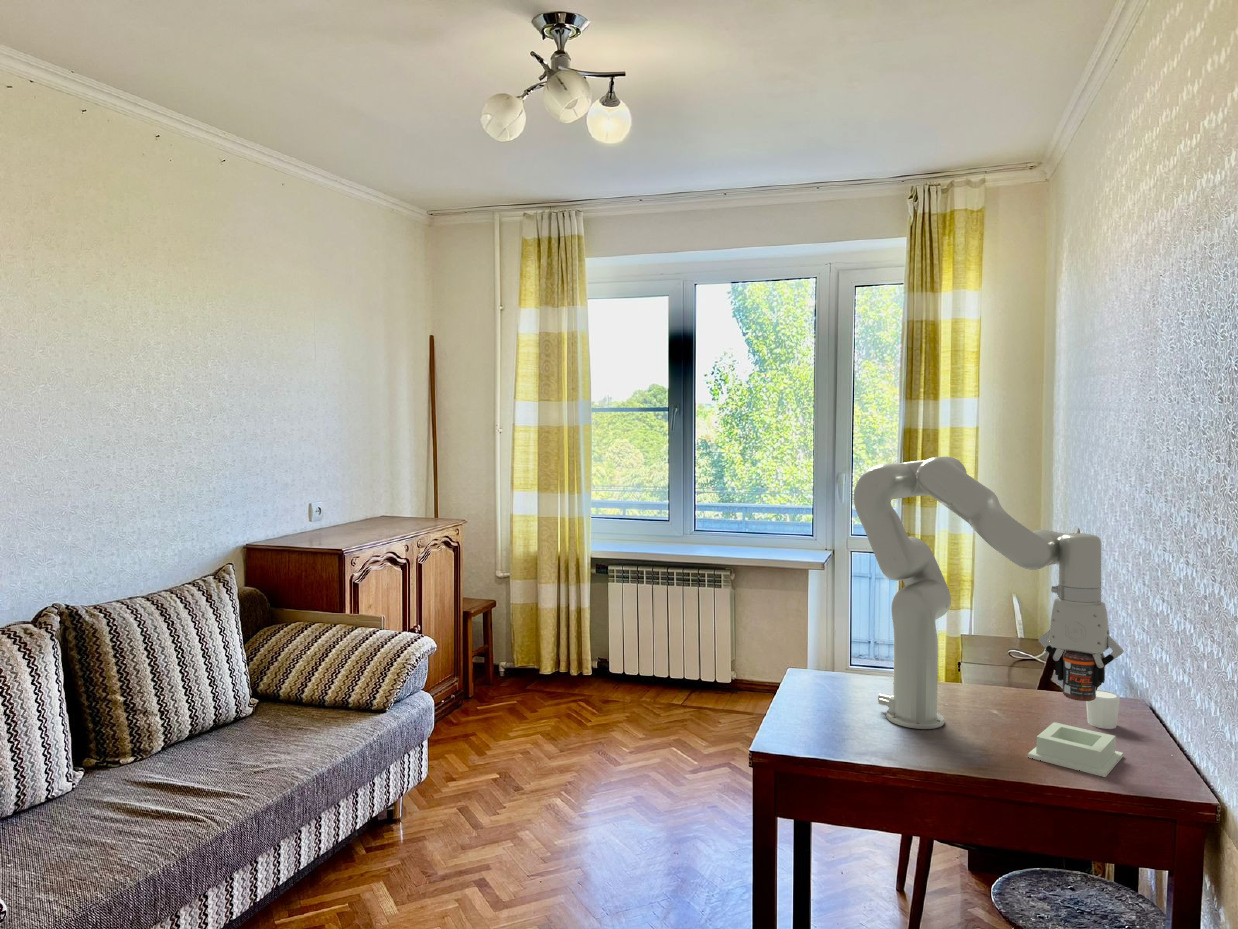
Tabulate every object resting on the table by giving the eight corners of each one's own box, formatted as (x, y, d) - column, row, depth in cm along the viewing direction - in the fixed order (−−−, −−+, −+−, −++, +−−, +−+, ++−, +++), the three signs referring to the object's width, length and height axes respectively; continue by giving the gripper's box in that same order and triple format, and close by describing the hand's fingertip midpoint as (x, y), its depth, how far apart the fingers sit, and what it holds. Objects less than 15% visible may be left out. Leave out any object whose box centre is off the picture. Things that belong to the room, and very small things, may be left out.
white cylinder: (1112, 732, 182) (1113, 701, 181) (1079, 723, 187) (1080, 693, 187) (1124, 725, 186) (1125, 694, 186) (1091, 717, 191) (1092, 687, 191)
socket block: (1027, 757, 167) (1028, 736, 167) (1049, 738, 178) (1049, 719, 177) (1105, 777, 158) (1105, 755, 158) (1123, 756, 168) (1123, 736, 168)
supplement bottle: (1067, 701, 165) (1067, 645, 164) (1059, 692, 170) (1059, 638, 170) (1100, 703, 163) (1100, 646, 163) (1090, 694, 169) (1090, 639, 169)
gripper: (1028, 592, 170) (1028, 678, 170) (1124, 602, 158) (1123, 695, 158) (1040, 587, 175) (1039, 670, 175) (1133, 597, 163) (1132, 686, 164)
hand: (1079, 681), depth 167 cm, fingers closed on supplement bottle, 6 cm apart
